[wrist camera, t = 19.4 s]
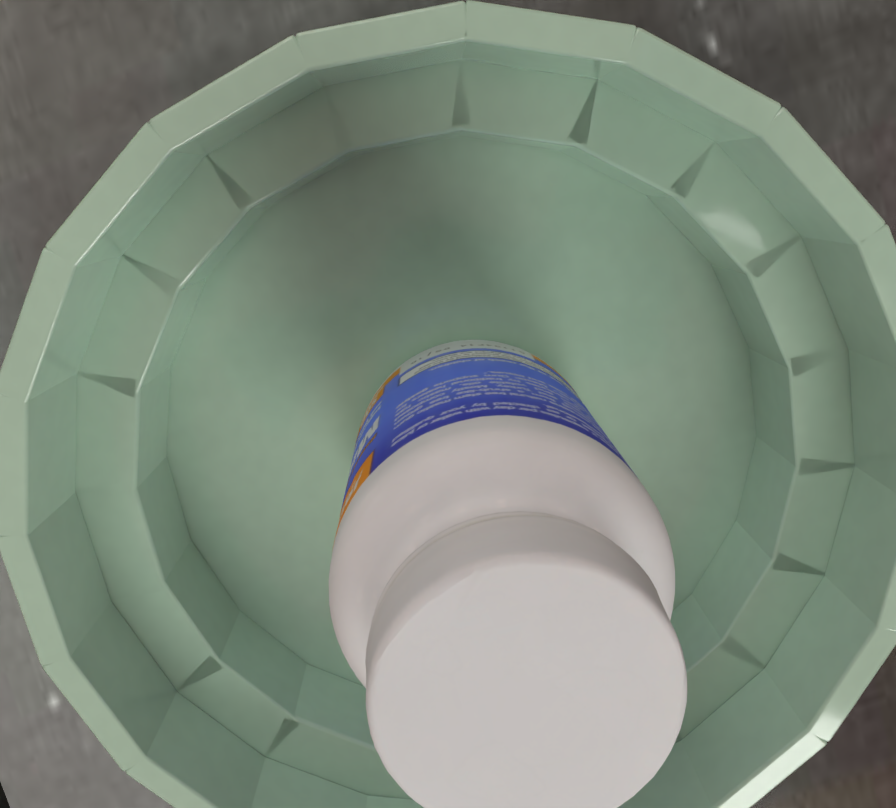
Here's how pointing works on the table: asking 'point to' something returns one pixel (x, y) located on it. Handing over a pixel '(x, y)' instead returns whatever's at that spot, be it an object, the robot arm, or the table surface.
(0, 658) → the table surface
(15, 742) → the table surface
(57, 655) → the bowl
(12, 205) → the table surface
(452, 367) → the pill bottle
